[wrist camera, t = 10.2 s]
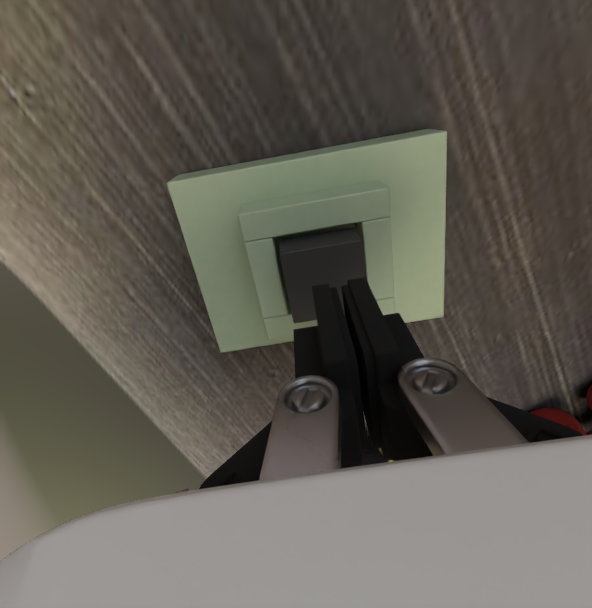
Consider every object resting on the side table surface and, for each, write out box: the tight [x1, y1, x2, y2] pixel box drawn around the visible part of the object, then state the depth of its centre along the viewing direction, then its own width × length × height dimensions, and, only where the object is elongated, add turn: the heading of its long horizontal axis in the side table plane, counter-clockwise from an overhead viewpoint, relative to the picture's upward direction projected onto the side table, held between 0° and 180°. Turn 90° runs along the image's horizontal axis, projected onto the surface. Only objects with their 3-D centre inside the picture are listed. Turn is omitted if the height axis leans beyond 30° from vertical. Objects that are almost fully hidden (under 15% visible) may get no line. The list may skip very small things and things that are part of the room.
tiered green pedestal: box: [167, 129, 447, 353], centre depth 18 cm, size 12×9×4 cm
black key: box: [280, 227, 366, 323], centre depth 16 cm, size 3×3×2 cm
